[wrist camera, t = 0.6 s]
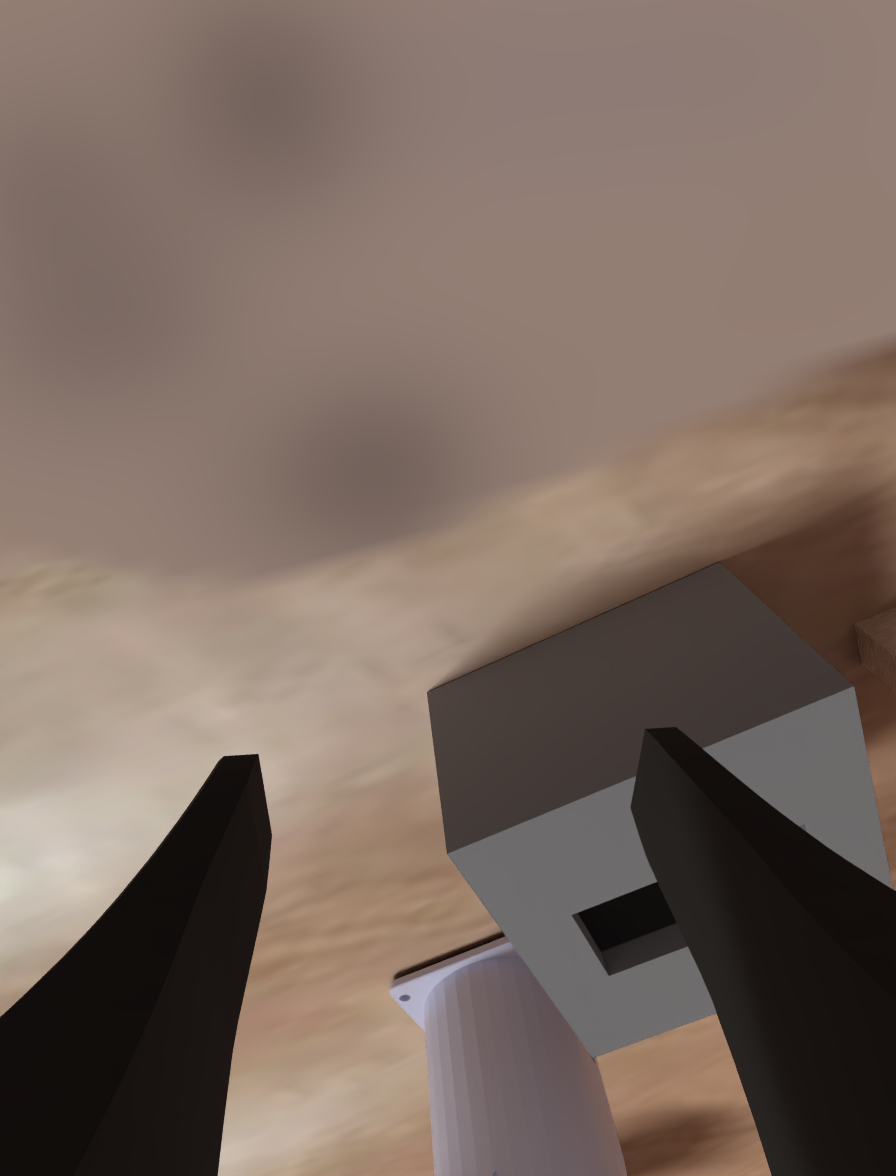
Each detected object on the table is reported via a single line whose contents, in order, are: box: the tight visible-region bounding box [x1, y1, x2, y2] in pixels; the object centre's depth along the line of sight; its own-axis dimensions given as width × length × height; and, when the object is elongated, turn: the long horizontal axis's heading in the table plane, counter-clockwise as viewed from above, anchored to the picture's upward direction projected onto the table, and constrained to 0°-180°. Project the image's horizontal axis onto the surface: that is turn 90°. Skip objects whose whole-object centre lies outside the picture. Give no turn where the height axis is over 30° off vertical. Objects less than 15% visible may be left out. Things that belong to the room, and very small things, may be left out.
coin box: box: [427, 562, 893, 1058], centre depth 23 cm, size 12×11×7 cm
